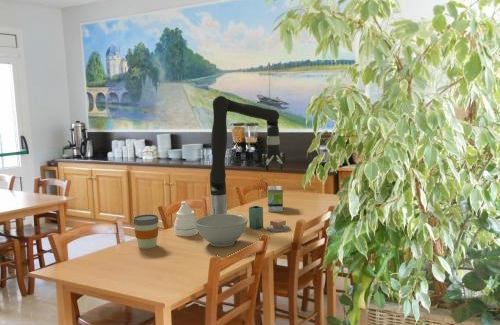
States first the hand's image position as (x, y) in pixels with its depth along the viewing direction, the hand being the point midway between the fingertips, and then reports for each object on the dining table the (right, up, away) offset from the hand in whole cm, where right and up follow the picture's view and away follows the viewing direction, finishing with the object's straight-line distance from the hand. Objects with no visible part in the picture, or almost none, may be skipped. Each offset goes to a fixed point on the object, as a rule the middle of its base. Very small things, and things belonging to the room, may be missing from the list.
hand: (273, 170), depth 295 cm
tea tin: (-11, -32, -13) cm, 37 cm away
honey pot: (-50, -35, -20) cm, 64 cm away
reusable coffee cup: (-67, -38, -42) cm, 88 cm away
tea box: (+3, -26, +32) cm, 42 cm away
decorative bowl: (-28, -37, -41) cm, 62 cm away
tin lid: (+2, -32, -17) cm, 36 cm away
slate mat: (+2, -33, -17) cm, 37 cm away
